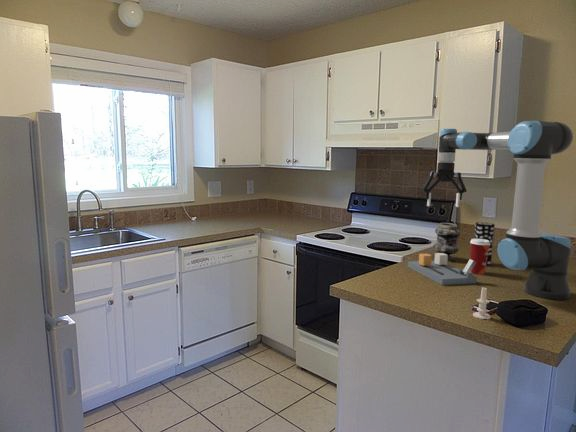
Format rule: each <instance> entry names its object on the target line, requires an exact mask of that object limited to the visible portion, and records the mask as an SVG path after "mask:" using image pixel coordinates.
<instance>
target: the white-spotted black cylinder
mask: <svg viewBox="0 0 576 432" xmlns="http://www.w3.org/2000/svg"><path fill="white" fill-rule="evenodd" d="M495 225H496V224H494V223H493V222H491V223H490V222H484V221H480V222H475V224H474V236H473V237H474V238H473V239H485V240H489V243H490V245H489V250H488V257H487V263H486V267H491V265H492V258H493V257H492V256H493V246H494V235H495Z"/></svg>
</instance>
